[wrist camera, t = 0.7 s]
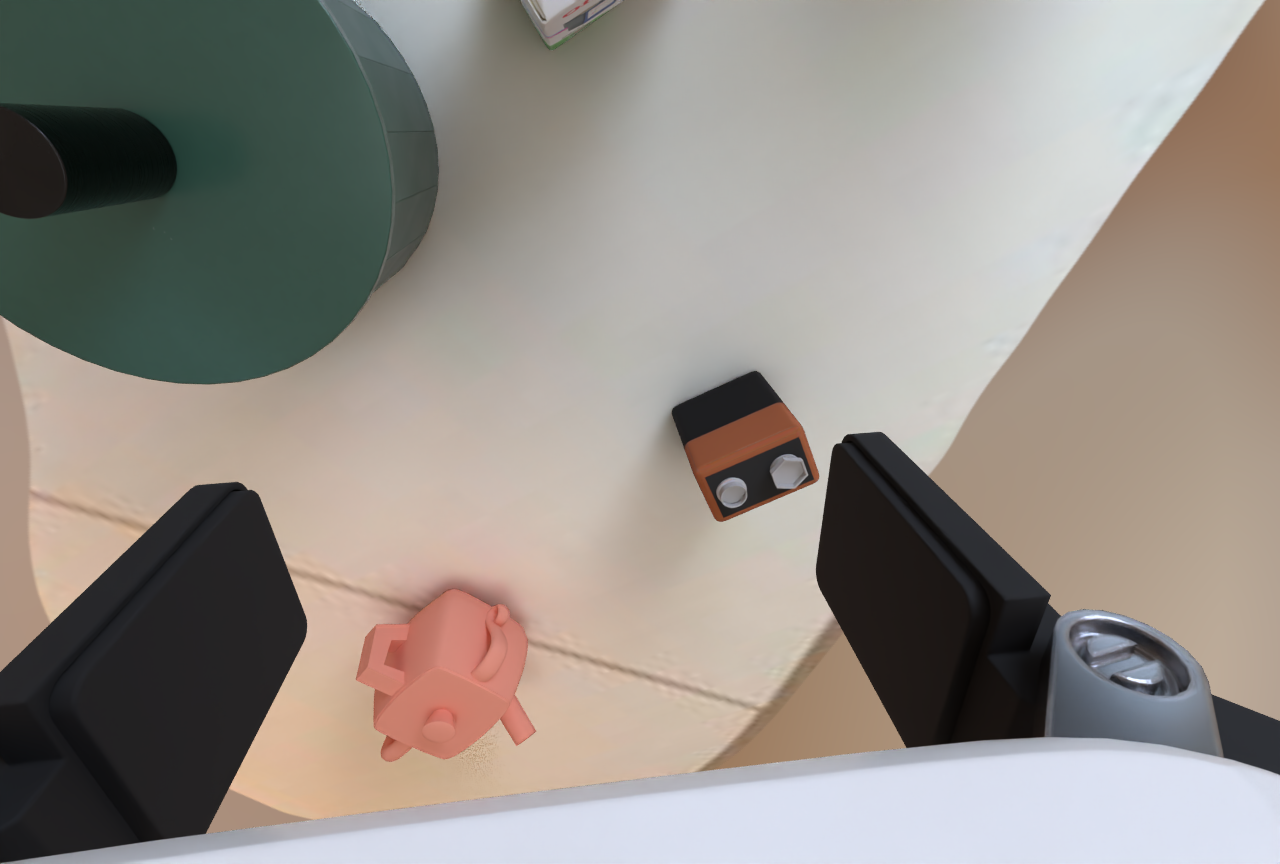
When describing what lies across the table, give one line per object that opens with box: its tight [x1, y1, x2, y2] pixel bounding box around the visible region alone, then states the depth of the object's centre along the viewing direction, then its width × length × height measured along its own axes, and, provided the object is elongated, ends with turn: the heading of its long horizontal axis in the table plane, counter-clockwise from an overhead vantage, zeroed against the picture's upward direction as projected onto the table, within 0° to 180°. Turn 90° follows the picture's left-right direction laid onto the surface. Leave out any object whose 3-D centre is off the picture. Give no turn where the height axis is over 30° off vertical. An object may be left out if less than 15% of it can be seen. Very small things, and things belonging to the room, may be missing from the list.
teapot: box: [356, 589, 536, 762], centre depth 45 cm, size 12×12×10 cm
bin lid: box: [0, 0, 395, 384], centre depth 20 cm, size 18×18×7 cm
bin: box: [323, 0, 439, 292], centre depth 27 cm, size 17×17×12 cm
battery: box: [672, 371, 819, 522], centre depth 38 cm, size 4×7×10 cm, turn 114°
